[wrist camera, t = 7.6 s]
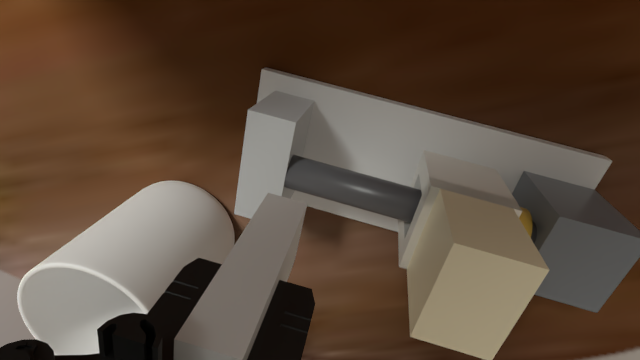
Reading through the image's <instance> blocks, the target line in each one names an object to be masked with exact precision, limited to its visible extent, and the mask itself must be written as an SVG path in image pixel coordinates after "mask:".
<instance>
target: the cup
mask: <svg viewBox="0 0 640 360" xmlns="http://www.w3.org/2000/svg"><path fill="white" fill-rule="evenodd" d="M234 243H235V234H234V228H233V225H232V222H231V219H230V217H229V215H228V213H227V211H226V210H225V209H224V207H223V206H222V205H221V203H220V202H219V201H218V200H217V199H216V198H215V197H213V196H212V195H211V194H210V193H208V192H207V191H205V190H204V189H202V188H200V187H198V186H195V185H193V184H190V183H186V182H182V181H162V182H157V183H154V184H152V185H150V186H148V187H146V188H144V189H142V190H141V191H139V192H138V193H137V194H135V195H134V196H132V197H131V198H129V199H128V200H127V201H125V202H124V203H123V204H121V205H120V206H118V207H117V208H116V209H114V210H113V211H111V212H110V213H109V214H107V215H106V216H105V217H103V218H102V219H100V220H99V221H98V222H96V223H95V224H93V225H92V226H91V227H89V228H88V229H87V230H85V231H84V232H82V233H81V234H80V235H78V236H77V237H75V238H74V239H73V240H71V241H70V242H69V243H67V244H66V245H64V246H63V247H62V248H60V249H59V250H57V251H56V252H55V253H53V254H52V255H51V256H49V257H48V258H46V259H45V260H44V261H42V262H41V263H39V264H38V265H37V266H35V267H34V268H33V269H31V270H30V271H29V272H27V273H26V274H25V276H24V277H23V278H22V280H21V282H20V284H19V287H18V293H17V301H18V307H19V311H20V314H21V316H22V319H23V321H24V322H25V324H26V326H27V328H28V329H29V331H30V332H31V334H32V335H33V336H34V338H35V339H36V340H40V341H42V342H45V343H48V345H49V346H50V347H51V348H52V350H53V351H54V355H89V354H97V353H100V352H99V343H98V334H97V329H98V328H99V327H101V326H102V325H103V324H104V323H105V322H107V321H108V320H110V319H112V318H115V317H117V316H119V315H122V314H129V313H141V314H147V313H148V312H149V311H150V309H151V308H152V307H153V306H154V304H155V303H156V302H157V300H158V299H159V298H160V297H161V295H162V294H163V293H165V290H166V289H167V288H168V286H169V285H170V284H171V282H173V281H174V279H175V277H176V276H177V275H178V273H179V272H180V271H181V270H182V268H183V267H184V266H186V265H187V264H189V263H191V262H192V261H194V260H196V259H197V258H202V259H205V260H209V261H212V262H216V263H219V264H223V262H224V260H225V259H226V257H227V256H228V254H229V253H230V251H231V250H232V248H233V246H234Z"/></svg>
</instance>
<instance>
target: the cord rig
mask: <svg viewBox="0 0 640 360" xmlns="http://www.w3.org/2000/svg"><path fill="white" fill-rule="evenodd" d="M424 150H426V151H429V152H433V153H437V154H441V155H444V156H448V157H452V158H455V159H459V160H463V161H467V162H470V163H474V164H478V165H481V166H485V167H489V168H493V169H496V170H497V171H498V173H499V174H500V176H501V178H502V179H503V181H504V182H505V184H506V186H507V187H508V189H509V190H510V192H511V194H512V195H513V197H514V198H515V200H516V201H517V203H518V205H519V206H520V208H521V209H522V213H521V215H520V217H519V219H520V221H521V222H522V224H523V226H524V228H525V229H526V231H527V233H528V234H529V236H530V238H531V239H532V241H533V243H534V244H535V246H536V248H537V250H538V251H539V253H540V255H541V256H542V258H543V260H544V261H545V263H546V265H547V266H548V268H549V272H548V274H547V275H546V277H545V278H544V280H543V281H542V283H541V285H540V286H539V288H538V289H537V291H536V292H535V294H534V295H537V296H541V297H544V298H547V299H551V300H554V301H558V302H561V303H565V304H568V305H572V306H575V307H578V308H582V309H585V310H589V311H592V312H596V313H597V312H598V311H599V310H600V308H601V307H602V306H603V304H604V303H605V302H606V300H607V299H608V298H609V297H610V295H611V294H612V293H613V291H614V290H615V289H616V287H617V286H618V285H619V283H620V282H621V281H622V279H623V278H624V277H625V276H626V274H627V273H628V272H629V270H630V269H631V268H632V266H633V265H634V264H635V262H636V261H637V260H638V259H639V257H640V231H639V230H638V229H637V228H636V227H635V226H634V225H633V224H632V223H631V222H630V221H628V220H627V219H626V218H625V217H624V216H623V215H622V214H621V213H620V212H619V211H617V210H616V209H615V208H614V207H613V206H612V205H611V204H610V203H609V202H608V201H606V200H605V199H604V198H603V197H602V196H601V195H600V194H599V193H598V192H597V191H596V190H595V188H596V187H597V185H598V184H599V182H600V180H601V179H602V177H603V176H604V174H605V172H606V171H607V169H608V168H609V166H610V165H611V163H612V160H610V159H609V158H607V157H606V156H603V155H600V154H596V153H592V152H588V151H584V150H581V149H577V148H573V147H569V146H565V145H561V144H558V143H554V142H550V141H546V140H542V139H538V138H535V137H531V136H527V135H523V134H519V133H516V132H512V131H508V130H504V129H500V128H496V127H493V126H489V125H485V124H481V123H477V122H473V121H470V120H466V119H462V118H458V117H454V116H451V115H447V114H443V113H439V112H435V111H431V110H428V109H424V108H420V107H416V106H412V105H408V104H405V103H401V102H397V101H393V100H389V99H386V98H382V97H378V96H374V95H370V94H366V93H363V92H359V91H355V90H351V89H347V88H343V87H340V86H336V85H332V84H328V83H324V82H321V81H317V80H313V79H309V78H305V77H301V76H298V75H294V74H290V73H286V72H282V71H278V70H275V69H271V68H267V67H265V68H263V69H262V70H261V77H260V84H259V91H258V98H257V104H255V105H254V106H252V107H251V108H250V109H248V113H247V120H246V128H245V135H244V143H243V150H242V158H241V166H240V173H239V181H238V188H237V196H236V203H235V211H234V214H236V215H240V216H243V217H246V218H250V219H251V218H252V217H253V215H254V214H255V212H256V211H257V209H258V207H259V206H260V204H261V203H262V201H263V200H264V198H265V197H266V195H267V193H271V194H275V195H278V196H282V197H286V198H289V199H293V200H297V201H300V202H304V203H308V204H307V206H308V207H312V208H315V209H319V210H322V211H326V212H329V213H333V214H336V215H340V216H343V217H347V218H350V219H354V220H357V221H361V222H364V223H368V224H371V225H375V226H378V227H382V228H385V229H389V230H392V231H396V232H398V220H402V221H405V222H409V223H411V222H412V219H413V217H414V214H415V212H416V209H417V207H418V204H419V201H420V199H421V196H422V192H421V190H420V189H416V188H413V187H410V186H411V183H412V180H413V177H414V175H415V172H416V169H417V167H418V164H419V161H420V159H421V156H422V153H423V151H424Z"/></svg>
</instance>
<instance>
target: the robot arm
mask: <svg viewBox="0 0 640 360" xmlns="http://www.w3.org/2000/svg"><path fill="white" fill-rule="evenodd" d="M307 204H308V203H304V202H300V201H297V200H293V199H289V198H286V197H282V196H278V195H275V194H271V193H267V195H266V197H265V198H264V200H263V201H262V203H261V204H260V206H259V207H258V209H257V211H256V212H255V214H254V215H253V217H252V218H251V220H250V221H249V223H248V225H247V226H246V228H245V229H244V231H243V232H242V234H241V236H240V237H239V239H238V240H237V242H236V243H235V245H234V246H233V248H232V250H231V251H230V253H229V254H228V256H227V257H226V259H225V260H224V262H223V264H219V263H216V262H212V261H209V260H205V259H202V258H197V259H196V260H194V261H192V262H191V263H189V264H187V265H186V266H184V267H183V268H182V270H181V271H180V272H179V273H178V275H177V276H176V277H175V279H174V281H173V282H171V284H170V285H169V286H168V288H167V289H166V290H165V293H163V294H162V295H161V297H160V298H159V299H158V300H157V302H156V303H155V304H154V306H153V307H152V308H151V309H150V311H149V312H148V313H147V314H141V313H129V314H122V315H119V316H117V317H115V318H112V319H110V320H108V321H107V322H105V323H104V324H103V325H102V326H101V327H99V328H98V329H97V334H98V343H99V352H100V353H97V354H89V355H54V351H53V350H52V348H51V347H50V346H49V345H48V343H45V342H42V341H40V340H20V341H17V342H13V343H9V344H6V345H4V346H3V347H1V348H0V360H301V357H302V353H303V349H304V345H305V341H306V337H307V333H308V330H309V326H310V322H311V318H312V314H313V310H314V306H315V302H314V297H313V293H312V289H309V288H306V287H303V286H299V285H296V284H292V283H289V282H287V280H288V277H289V275H290V272H291V269H292V267H293V264H294V261H295V257H296V253H297V248H298V244H299V239H300V235H301V230H302V226H303V222H304V217H305V213H306V208H307Z"/></svg>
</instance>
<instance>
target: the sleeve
mask: <svg viewBox="0 0 640 360" xmlns="http://www.w3.org/2000/svg"><path fill="white" fill-rule="evenodd" d="M410 187H413V188H416V189H420V190H421V192H422V196H421V199H420V201H419V204H418V207H417V209H416V212H415V214H414V217H413V219H412V222H411V223H409V222H405V221H402V220H398V250H399V267H401V268H404V269H407V285H408V306H409V327H410V337H413V338H416V339H419V340H422V341H426V342H429V343H432V344H436V345H439V346H442V347H445V348H449V349H452V350H455V351H459V352H462V353H465V354H468V355H472V356H475V357H478V358H482V359H485V360H493V358H494V357H495V355H496V353H497V352H498V350H499V349H500V347H501V346H502V344H503V343H504V341H505V339H506V338H507V336H508V335H509V333H510V332H511V330H512V328H513V327H514V325H515V324H516V322H517V321H518V319H519V317H520V316H521V314H522V313H523V311H524V310H525V308H526V306H527V305H528V303H529V302H530V300H531V299H532V297H533V295H534V294H535V292H536V291H537V289H538V288H539V286H540V285H541V283H542V281H543V280H544V278H545V277H546V275H547V274H548V272H549V268H548V266H547V265H546V263H545V261H544V260H543V258H542V256H541V255H540V253H539V251H538V250H537V248H536V246H535V244H534V243H533V241H532V239H531V238H530V236H529V234H528V233H527V231H526V229H525V228H524V226H523V224H522V222H521V221H520V219H519V217H520V215H521V213H522V209H521V208H520V206H519V205H518V203H517V201H516V200H515V198H514V197H513V195H512V194H511V192H510V190H509V189H508V187H507V186H506V184H505V182H504V181H503V179H502V178H501V176H500V174H499V173H498V171H497V170H496V169H493V168H489V167H485V166H481V165H478V164H474V163H470V162H467V161H463V160H459V159H455V158H452V157H448V156H444V155H441V154H437V153H433V152H429V151H426V150H424V151H423V153H422V156H421V159H420V161H419V164H418V167H417V169H416V172H415V175H414V177H413V180H412V183H411V186H410Z"/></svg>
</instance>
